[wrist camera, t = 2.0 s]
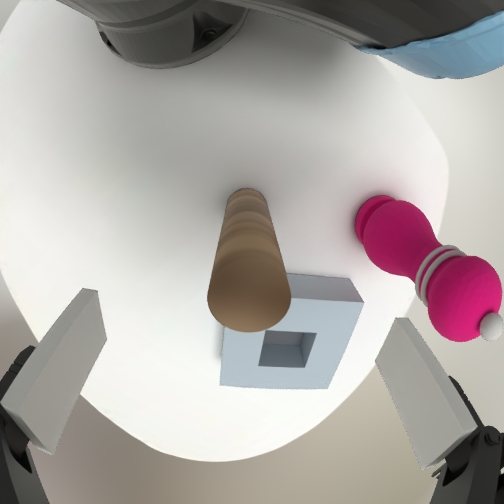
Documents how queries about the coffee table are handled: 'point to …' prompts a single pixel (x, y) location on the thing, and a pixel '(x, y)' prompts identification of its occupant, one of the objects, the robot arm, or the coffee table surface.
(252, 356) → the bore block
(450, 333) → the pepper mill
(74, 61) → the coffee table surface
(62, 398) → the robot arm
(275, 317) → the dowel
